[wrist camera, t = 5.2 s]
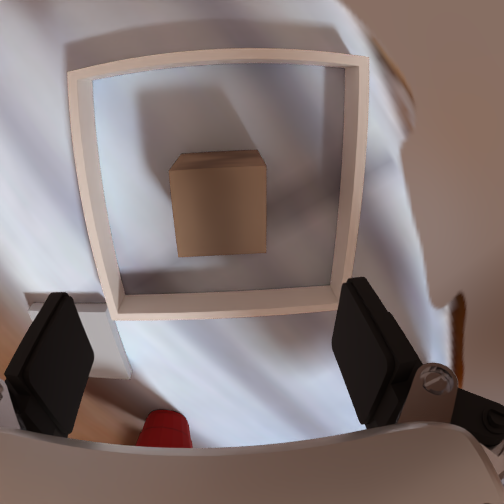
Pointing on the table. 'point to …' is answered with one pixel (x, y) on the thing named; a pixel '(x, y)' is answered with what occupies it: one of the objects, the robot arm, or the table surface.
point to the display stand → (100, 340)
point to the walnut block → (219, 203)
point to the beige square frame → (229, 301)
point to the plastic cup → (165, 430)
